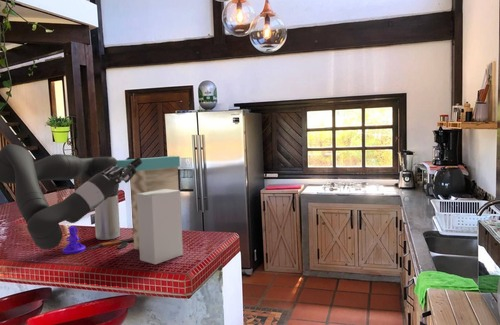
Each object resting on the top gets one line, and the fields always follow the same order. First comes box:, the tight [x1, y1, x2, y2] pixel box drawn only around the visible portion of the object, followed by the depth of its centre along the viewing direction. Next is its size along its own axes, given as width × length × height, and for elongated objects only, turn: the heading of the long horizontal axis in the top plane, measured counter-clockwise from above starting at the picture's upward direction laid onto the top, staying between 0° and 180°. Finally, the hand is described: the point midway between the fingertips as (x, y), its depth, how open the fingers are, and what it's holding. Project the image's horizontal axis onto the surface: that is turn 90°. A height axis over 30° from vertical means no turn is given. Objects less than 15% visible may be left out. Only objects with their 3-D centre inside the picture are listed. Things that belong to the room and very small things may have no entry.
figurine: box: [62, 225, 86, 255], centre depth 146 cm, size 8×8×10 cm
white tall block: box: [137, 189, 184, 265], centre depth 135 cm, size 8×12×22 cm, turn 142°
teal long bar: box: [116, 155, 181, 173], centre depth 131 cm, size 4×22×4 cm, turn 142°
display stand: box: [129, 167, 180, 251], centre depth 148 cm, size 10×14×32 cm
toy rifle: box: [85, 237, 134, 251], centre depth 152 cm, size 34×1×10 cm
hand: (135, 159), depth 126 cm, fingers closed on teal long bar, 4 cm apart
